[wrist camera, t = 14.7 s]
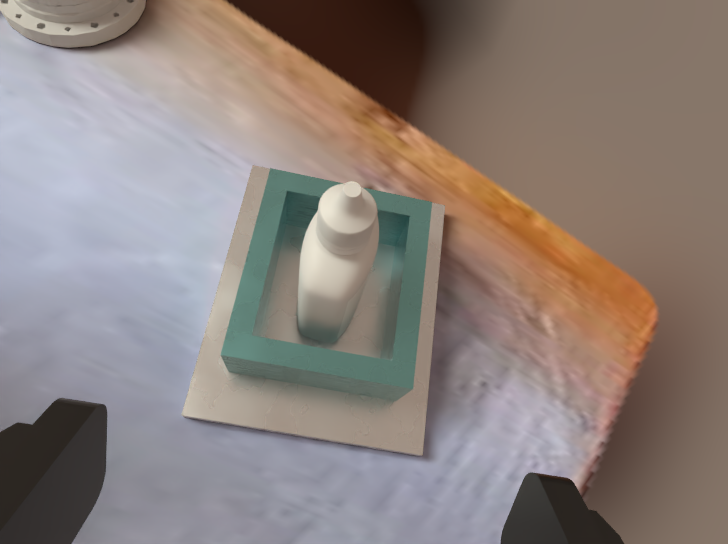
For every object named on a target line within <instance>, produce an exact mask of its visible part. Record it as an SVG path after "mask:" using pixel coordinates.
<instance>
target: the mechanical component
mask: <svg viewBox="0 0 728 544" xmlns="http://www.w3.org/2000/svg"><path fill="white" fill-rule="evenodd" d="M145 4H146V0H0V11H1V12H2V14H3V15H4V17H5V18H6V20H7V21H8V23H9V24H10V26H11V27H12V28H14V29H15V30H16V31H18V32H19V33H20V34H22V35H23V36H25V37H27V38H29V39H31V40H33V41H36V42H38V43H42V44H46V45H50V46H56V47H67V48H72V47H84V46H94V45H97V44H99V43H102V42H105V41H108V40H111V39H114V38H116V37H118V36H120V35H121V34H123V33H125V32H126V31H127V30H129V29H130V28H131V27H132V26H133V25H134V24H135V23H136V22H138V20H139V18H140V16H141V14H142V13H143V11H144V9H145Z"/></svg>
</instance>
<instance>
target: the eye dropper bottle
mask: <svg viewBox="0 0 728 544" xmlns="http://www.w3.org/2000/svg"><path fill="white" fill-rule="evenodd" d="M376 204H377V203H376V202H375V200H374V198H373V197H372V195H371V194H370V193H369V192H368V191H366V190H365V189H364V188H362V187H361V186H360V185H359V184H358V183H356V182H353V181H351V182H347V183H346V184H344V183H343V184H337V185H335V186H332V187H331V188H329V189H328V190H327V191H325V193H323V195H322V197H321V198H320V201H319V205H318V211H317V212H316V214H315V215H314V217H313V219H312V220H311V222H310V224H309V226H308V228H307V231H306V234H305V237H304V240H303V244H302V249H301V256H300V267H299V285H298V306H297V321H298V329H299V331H300V333H301V334H302V335H304V336H306V337H309V338H312V339H315V340H319V341H322V342H326V343H332V342H334V341H336V340H337V339H338V338H339V337H340V336H341V335H342V333H343V332H344V331H345V329H346V328H347V326H348V325H349V323H350V321H351V320H352V318H353V316H354V313H355V311H356V308H357V306H358V303H359V300H360V298H361V295H362V292H363V290H364V287H365V284H366V282H367V279H368V276H369V274H370V271H371V268H372V266H373V263H374V260H375V256H376V253H377V248H378V242H379V222H378V216H377V215H378V214H377V213H378V211H377V205H376Z"/></svg>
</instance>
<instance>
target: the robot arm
mask: <svg viewBox="0 0 728 544" xmlns="http://www.w3.org/2000/svg"><path fill="white" fill-rule="evenodd" d="M106 442H107V409H106V406H105V405H103V404H97V403H91V402H85V401H78V400H72V399H65V398H59V399H57V400H56V401H54V402H53V403H52V404H51V405H50V406H49V407H48V409H47V410H46V411H45V412H44V413H43V414H42V415H41V416H40V417H39V418H38V419H37V420H36V422H35V423H34V424H33V425H30V424H24V423H16V424H14V425H12V426H10V427H9V428H7V429H5V430H3V431H2V432H0V544H71V543H72V542H73V540H74V538H75V537H76V535H77V533H78V532H79V530H80V528H81V527H82V525H83V524H84V522H85V520H86V519H87V517H88V515H89V514H90V512H91V510H92V509H93V507H94V505H95V503H96V501H97V499H98V497H99V494H100V491H101V489H102V485H103V482H104V477H105V472H106ZM501 544H624V543H623V541H622V539H621V537H620V536H619V535H618V534H617V533H616V532H615V530H614V529H613V528H612V527H611V526H610V525H609V524H608V523H607V522H606V521H605V520H604V519H603V518H602V517H601V516H600V515H599V514H598V513H597V512H596V511H593V510H588V508H587V506H586V504H585V502H584V501H583V499H582V497H581V495H580V493H579V491H578V489H577V488H576V486H575V484H574V483H573V482H572V480H570V479H568V478H564V477H558V476H551V475H545V474H538V473H528V474H527V475H526V476H525V478H524V480H523V482H522V484H521V487H520V489H519V491H518V494H517V496H516V499H515V501H514V503H513V506H512V508H511V511H510V513H509V515H508V518H507V520H506V523H505V525H504V528H503V531H502V536H501Z"/></svg>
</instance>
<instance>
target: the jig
mask: <svg viewBox="0 0 728 544" xmlns="http://www.w3.org/2000/svg"><path fill="white" fill-rule="evenodd" d="M337 184H343V183H338V182H333V181H329V180H324V179H319V178H314V177H310V176H305V175H300V174H295V173H290V172H286V171H281V170H276V169H271V168H270V169H268V168H264V167H259V166H254V165H253V166H252V170H251V173H250V177H249V180H248V184H247V187H246V191H245V194H244V198H243V201H242V205H241V208H240V212H239V215H238V219H237V222H236V226H235V229H234V233H233V236H232V240H231V243H230V247H229V250H228V254H227V257H226V261H225V264H224V268H223V271H222V275H221V278H220V282H219V285H218V289H217V292H216V296H215V299H214V303H213V306H212V310H211V313H210V317H209V320H208V324H207V327H206V331H205V334H204V338H203V341H202V345H201V348H200V352H199V355H198V359H197V362H196V366H195V369H194V373H193V376H192V380H191V383H190V387H189V390H188V394H187V397H186V401H185V404H184V408H183V411H182V416H183V417H185V418H191V419H197V420H203V421H209V422H215V423H221V424H227V425H233V426H239V427H245V428H252V429H258V430H264V431H270V432H276V433H282V434H288V435H294V436H300V437H306V438H312V439H318V440H324V441H330V442H336V443H342V444H348V445H354V446H360V447H366V448H372V449H378V450H384V451H390V452H396V453H402V454H408V455H414V456H421V455H423V445H424V434H425V423H426V412H427V401H428V390H429V379H430V368H431V356H432V345H433V334H434V323H435V312H436V301H437V290H438V279H439V267H440V256H441V245H442V234H443V223H444V212H445V205H440V204H436V203H432V202H429V201H424V200H419V199H415V198H410V197H405V196H400V195H396V194H391V193H386V192H381V191H376V190H372V189H367V188H364V189H365V190H366V191H368V192H369V193H370V194H371V195H372V197H373V198H374V200H375V202H376V203H377V204H376V205H377V211H378V213H377V214H378V215H377V216H378V222H379V242H378V248H377V253H376V256H375V260H374V263H373V266H372V268H371V271H370V274H369V276H368V279H367V282H366V284H365V287H364V290H363V292H362V295H361V298H360V300H359V303H358V306H357V308H356V311H355V313H354V316H353V318H352V320H351V321H350V323H349V325H348V326H347V328H346V329H345V331H344V332H343V333H342V335H341V336H340V337H339V338H338V339H337V340H336V341H334V342H332V343H326V342H322V341H319V340H315V339H312V338H309V337H306V336H304V335H302V334H301V333H300V331H299V329H298V321H297V306H298V285H299V267H300V256H301V249H302V244H303V240H304V237H305V234H306V231H307V228H308V226H309V224H310V222H311V220H312V219H313V217H314V215H315V214H316V212H317V211H318V205H319V201H320V198H321V197H322V195H323V193H325V191H327V190H328V189H329V188H331V187H332V186H335V185H337Z"/></svg>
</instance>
